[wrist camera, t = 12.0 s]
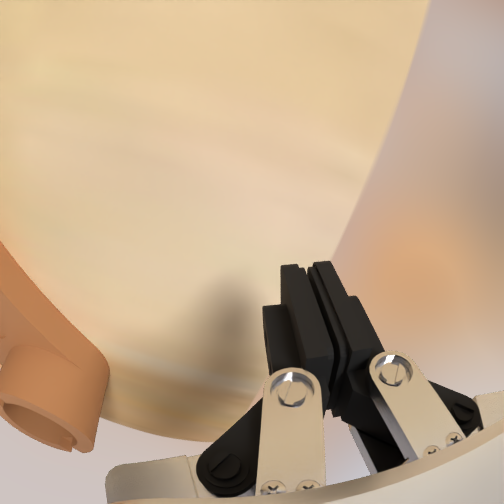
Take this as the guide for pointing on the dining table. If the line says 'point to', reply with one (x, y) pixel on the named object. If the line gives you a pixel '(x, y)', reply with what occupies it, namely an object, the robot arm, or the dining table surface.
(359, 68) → the dining table surface
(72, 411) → the bracket
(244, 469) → the robot arm
